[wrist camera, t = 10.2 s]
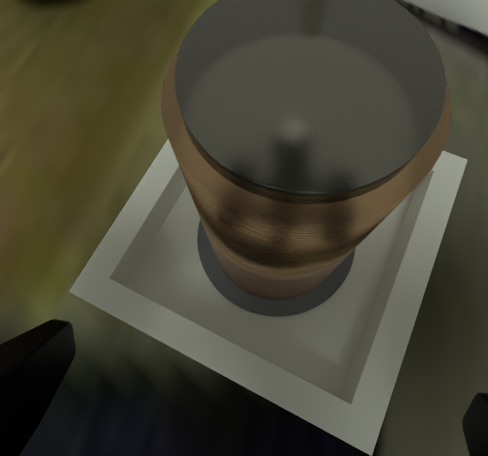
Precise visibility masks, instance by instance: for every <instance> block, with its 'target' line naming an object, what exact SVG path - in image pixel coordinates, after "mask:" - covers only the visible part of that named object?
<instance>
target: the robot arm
mask: <svg viewBox="0 0 488 456" xmlns="http://www.w3.org/2000/svg"><path fill="white" fill-rule="evenodd" d="M75 352H76V346H75V339H74V332H73V326H72V324H71V323H70V322H68V321H63V320H57V319H53V320H50V321H47V322H45V323H43V324H41V325H39V326H37V327H35V328H33V329H31V330H29V331H27V332H25V333H23V334H21V335H19V336H17V337H15V338H13V339H11V340H8V341H6V342H4V343H2V344H0V456H19V455H20V453H21V452H22V450H23V449H24V447H25V445H26V444H27V442H28V441H29V439H30V438H31V436H32V435H33V433H34V431H35V430H36V428H37V427H38V425H39V423H40V422H41V420H42V418H43V416H44V414H45V412H46V411H47V409H48V407H49V405H50V403H51V401H52V399H53V397H54V395H55V393H56V391H57V389H58V388H59V386H60V384H61V382H62V380H63V378H64V376H65V374H66V372H67V370H68V368H69V366H70V364H71V363H72V361H73V359H74V356H75ZM462 426H463V432H464V436H465V440H466V444H467V447H468V451H469V455H470V456H488V393H482V392H481V393H478V394H476V395H475V396H474V398H473V400H472V402H471V404H470V406H469V407H468V409H467V411H466V413H465V415H464V417H463V421H462Z"/></svg>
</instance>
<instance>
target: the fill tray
mask: <svg viewBox="0 0 488 456" xmlns="http://www.w3.org/2000/svg"><path fill="white" fill-rule="evenodd" d="M466 163H467V159H464V158H461V157H459V156H456V155H453V154H451V153H448V152H445V151H443V150H442V153H441V155H440V157H439V158H438V160H437V162H436V163H435V165H434V167H433V168H432V170H431V171H430V172H429V173H428V174H427V176H426V177H425V178H424V179H423V180H422V182H421V183H420V184H419V185H418V186H417V187H416V188H415V189H414V190H413V191H412V192H411V193H410V194H409V195H408V196H407V197H406V198H405V199H404V200H403V201H402V202H401V203H400V204H399V205H398V206H397V207H396V208H395V209H394V210H393V211H392V212H391V213H390V214H389V215H388V216H387V217H386V218H385V219H384V220H383V221H382V222H381V223H380V224H379V225H378V226H377V227H376V228H375V229H374V230H373V231H372V232H371V233H370V234H369V235H368V236H367V237H366V238H365V239H364V240H363V241H362V242H361V243H360V244H359V245H358V246H357V247H356V248H355V249H354V250H353V251H352V252H351V253H350V254H349V255H348V256H347V257H346V258H345V259H344V260H343V261H342V262H341V263H340V264H339V265H338V266H337V267H336V268H335V269H334V270H333V271H332V272H331V273H330V274H329V275H328V276H327V277H326V278H325V279H324V280H323V281H322V282H321V283H320V284H319V285H318V286H317V287H316V288H314V289H313V290H311V291H310V292H308V293H306V294H304V295H302V296H299V297H296V298H293V299H287V300H266V299H262V298H258V297H255V296H252V295H250V294H248V293H246V292H244V291H242V290H241V289H240V288H238V287H237V286H235V285H234V284H233V283H232V282H231V281H230V280H229V279H228V278H227V276H226V275H225V274H224V272H223V271H222V269H221V268H220V266H219V263H218V261H217V259H216V256H215V254H214V251H213V249H212V246H211V244H210V241H209V239H208V236H207V234H206V231H205V229H204V226H203V224H202V221H201V219H200V216H199V214H198V211H197V209H196V207H195V204H194V202H193V199H192V197H191V194H190V192H189V189H188V187H187V184H186V182H185V179H184V177H183V174H182V172H181V169H180V167H179V164H178V162H177V159H176V157H175V154H174V152H173V149H172V147H171V144H170V142H169V139H168V140H167V141H166V143H165V144H164V146H163V147H162V149H161V151H160V152H159V154H158V155H157V157H156V158H155V160H154V161H153V163H152V164H151V166H150V167H149V169H148V171H147V172H146V174H145V175H144V177H143V178H142V180H141V181H140V183H139V184H138V186H137V187H136V189H135V190H134V192H133V194H132V195H131V197H130V198H129V200H128V201H127V203H126V204H125V206H124V207H123V209H122V210H121V212H120V213H119V215H118V217H117V218H116V220H115V221H114V223H113V224H112V226H111V227H110V229H109V230H108V232H107V233H106V235H105V237H104V238H103V240H102V241H101V243H100V244H99V246H98V247H97V249H96V250H95V252H94V253H93V255H92V256H91V258H90V260H89V261H88V263H87V264H86V266H85V267H84V269H83V270H82V272H81V273H80V275H79V276H78V278H77V279H76V281H75V283H74V284H73V286H72V287H71V289H70V290H69V292H70V293H72V294H74V295H76V296H78V297H79V298H81V299H83V300H85V301H87V302H89V303H90V304H92V305H94V306H96V307H98V308H100V309H102V310H103V311H105V312H107V313H109V314H111V315H113V316H114V317H116V318H118V319H120V320H122V321H124V322H126V323H127V324H129V325H131V326H133V327H135V328H137V329H138V330H140V331H142V332H144V333H146V334H148V335H149V336H151V337H153V338H155V339H157V340H159V341H161V342H162V343H164V344H166V345H168V346H170V347H172V348H173V349H175V350H177V351H179V352H181V353H183V354H184V355H186V356H188V357H190V358H192V359H194V360H196V361H197V362H199V363H201V364H203V365H205V366H207V367H208V368H210V369H212V370H214V371H216V372H218V373H220V374H221V375H223V376H225V377H227V378H229V379H231V380H232V381H234V382H236V383H238V384H240V385H242V386H243V387H245V388H247V389H249V390H251V391H253V392H255V393H256V394H258V395H260V396H262V397H264V398H266V399H267V400H269V401H271V402H273V403H275V404H277V405H279V406H280V407H282V408H284V409H286V410H288V411H290V412H291V413H293V414H295V415H297V416H299V417H301V418H302V419H304V420H306V421H308V422H310V423H312V424H314V425H315V426H317V427H319V428H321V429H323V430H325V431H326V432H328V433H330V434H332V435H334V436H336V437H337V438H339V439H341V440H343V441H345V442H347V443H349V444H350V445H352V446H354V447H356V448H358V449H360V450H361V451H363V452H365V453H367V454H369V455H371V456H372V454H373V451H374V448H375V444H376V441H377V438H378V435H379V432H380V429H381V426H382V423H383V420H384V417H385V414H386V410H387V407H388V404H389V401H390V398H391V395H392V392H393V389H394V386H395V383H396V379H397V376H398V373H399V370H400V367H401V364H402V361H403V358H404V355H405V352H406V349H407V345H408V342H409V339H410V336H411V333H412V330H413V327H414V324H415V321H416V318H417V315H418V311H419V308H420V305H421V302H422V299H423V296H424V293H425V290H426V287H427V284H428V280H429V277H430V274H431V271H432V268H433V265H434V262H435V259H436V256H437V253H438V250H439V246H440V243H441V240H442V237H443V234H444V231H445V228H446V225H447V222H448V219H449V215H450V212H451V209H452V206H453V203H454V200H455V197H456V194H457V191H458V188H459V185H460V181H461V178H462V175H463V172H464V169H465V166H466Z"/></svg>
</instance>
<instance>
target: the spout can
mask: <svg viewBox="0 0 488 456" xmlns="http://www.w3.org/2000/svg"><path fill="white" fill-rule="evenodd" d="M161 106H162V116H163V122H164V126H165V130H166V133H167V137H168V139H169V142H170V144H171V147H172V149H173V152H174V154H175V157H176V159H177V162H178V164H179V167H180V169H181V172H182V174H183V177H184V179H185V182H186V184H187V187H188V189H189V192H190V194H191V197H192V199H193V202H194V204H195V207H196V209H197V211H198V214H199V216H200V219H201V221H202V224H203V226H204V229H205V231H206V234H207V236H208V239H209V241H210V244H211V246H212V249H213V251H214V254H215V256H216V259H217V261H218V263H219V266H220V268H221V269H222V271H223V272H224V274H225V275H226V276H227V278H228V279H229V280H230V281H231V282H232V283H233V284H234V285H235V286H237V287H238V288H240V289H241V290H242V291H244V292H246V293H248V294H250V295H252V296H255V297H258V298H262V299H266V300H287V299H293V298H296V297H299V296H302V295H304V294H306V293H308V292H310V291H311V290H313V289H314V288H316V287H317V286H318V285H319V284H320V283H321V282H322V281H323V280H324V279H325V278H326V277H327V276H328V275H329V274H330V273H331V272H332V271H333V270H334V269H335V268H336V267H337V266H338V265H339V264H340V263H341V262H342V261H343V260H344V259H345V258H346V257H347V256H348V255H349V254H350V253H351V252H352V251H353V250H354V249H355V248H356V247H357V246H358V245H359V244H360V243H361V242H362V241H363V240H364V239H365V238H366V237H367V236H368V235H369V234H370V233H371V232H372V231H373V230H374V229H375V228H376V227H377V226H378V225H379V224H380V223H381V222H382V221H383V220H384V219H385V218H386V217H387V216H388V215H389V214H390V213H391V212H392V211H393V210H394V209H395V208H396V207H397V206H398V205H399V204H400V203H401V202H402V201H403V200H404V199H405V198H406V197H407V196H408V195H409V194H410V193H411V192H412V191H413V190H414V189H415V188H416V187H417V186H418V185H419V184H420V183H421V182H422V180H423V179H424V178H425V177H426V176H427V174H428V173H429V172H430V171H431V170H432V168H433V167H434V165H435V163H436V162H437V160H438V158H439V157H440V155H441V153H442V150H443V148H444V145H445V143H446V140H447V137H448V132H449V127H450V121H451V102H450V94H449V89H448V86H447V82H446V78H445V69H444V66H443V62H442V59H441V56H440V53H439V51H438V49H437V47H436V45H435V43H434V41H433V40H432V38H431V36H430V35H429V33H428V32H427V30H426V29H425V28H424V27H423V26H422V24H421V23H420V22H419V21H418V20H417V19H416V18H415V17H414V16H413V15H412V14H411V13H410V12H409V11H407V10H406V9H405V8H404V7H402V6H401V5H400V4H398V3H397V2H395V1H394V0H218V1H217V2H216V3H214V4H213V5H212V6H211V7H209V8H208V9H207V10H206V11H205V12H204V13H203V14H202V15H201V16H200V17H199V18H198V19H197V20H196V22H195V23H194V24H193V26H192V27H191V28H190V29H189V31H188V33H187V35H186V36H185V38H184V40H183V42H182V43H181V45H180V46H179V47H178V49H177V51H176V52H175V54H174V56H173V58H172V60H171V61H170V64H169V67H168V69H167V72H166V75H165V79H164V84H163V88H162V103H161Z"/></svg>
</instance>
